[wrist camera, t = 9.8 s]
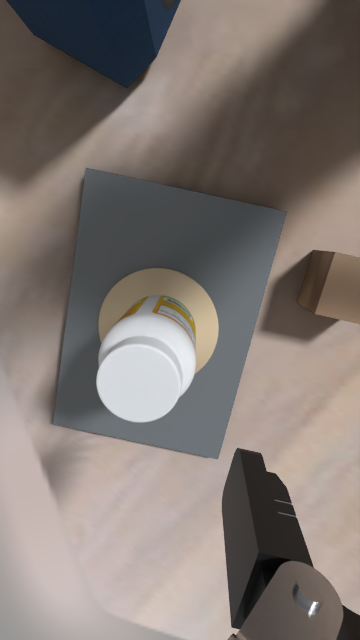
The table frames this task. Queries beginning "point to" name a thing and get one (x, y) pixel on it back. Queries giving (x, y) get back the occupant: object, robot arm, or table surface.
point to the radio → (102, 31)
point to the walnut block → (332, 286)
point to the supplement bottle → (147, 359)
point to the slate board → (172, 280)
